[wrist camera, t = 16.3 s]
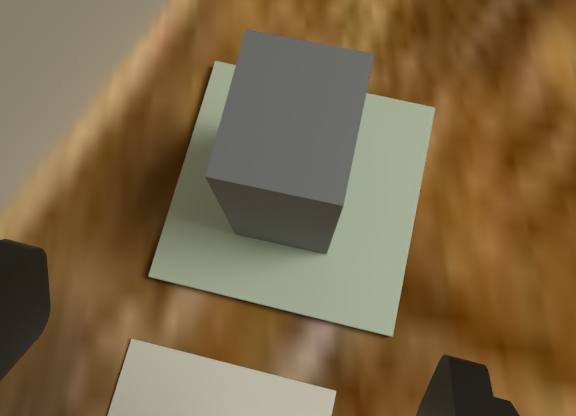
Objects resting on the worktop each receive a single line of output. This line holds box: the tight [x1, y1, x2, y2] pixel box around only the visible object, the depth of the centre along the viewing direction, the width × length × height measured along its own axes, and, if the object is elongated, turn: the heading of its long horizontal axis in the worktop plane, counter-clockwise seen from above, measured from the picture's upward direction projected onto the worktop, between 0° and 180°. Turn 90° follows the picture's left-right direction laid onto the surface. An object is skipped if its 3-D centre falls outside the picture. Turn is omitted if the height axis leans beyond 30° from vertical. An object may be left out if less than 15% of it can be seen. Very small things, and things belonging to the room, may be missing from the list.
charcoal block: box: [205, 30, 374, 254], centre depth 22 cm, size 5×6×9 cm
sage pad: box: [148, 61, 435, 337], centre depth 27 cm, size 12×12×1 cm
